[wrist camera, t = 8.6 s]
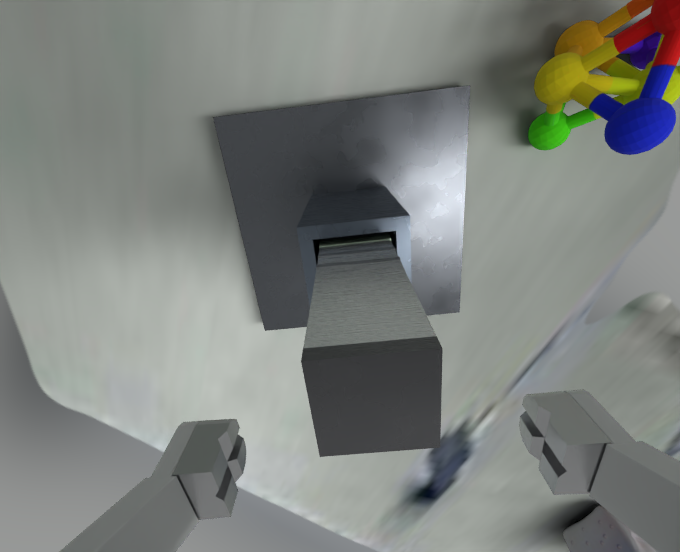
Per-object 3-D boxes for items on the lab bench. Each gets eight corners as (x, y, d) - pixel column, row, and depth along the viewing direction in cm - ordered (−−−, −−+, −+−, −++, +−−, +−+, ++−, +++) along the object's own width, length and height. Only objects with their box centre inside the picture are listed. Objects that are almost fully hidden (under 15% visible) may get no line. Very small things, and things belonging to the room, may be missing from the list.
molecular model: (531, 160, 28) (651, 173, 17) (490, 88, 26) (599, 52, 15) (663, 61, 25) (902, 5, 15) (630, -30, 23) (883, -174, 12)
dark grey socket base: (219, 118, 27) (136, 107, 16) (463, 87, 26) (554, 54, 15) (267, 322, 35) (234, 410, 24) (454, 304, 34) (509, 387, 23)
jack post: (324, 218, 24) (298, 360, 9) (378, 212, 24) (444, 346, 9) (330, 268, 26) (318, 457, 11) (381, 263, 26) (441, 448, 11)
